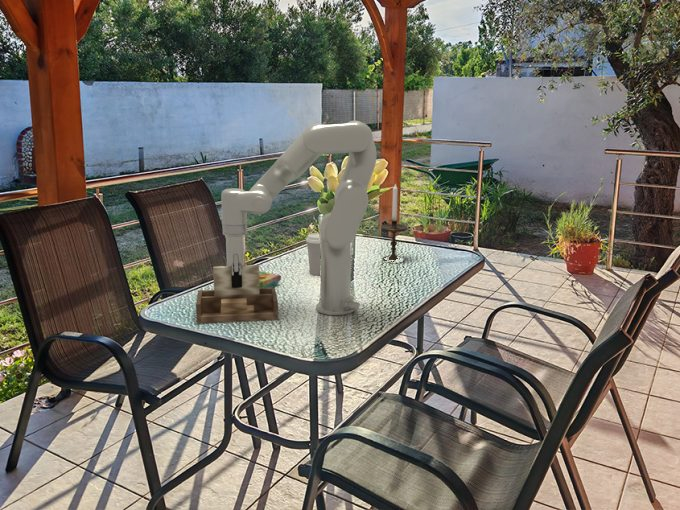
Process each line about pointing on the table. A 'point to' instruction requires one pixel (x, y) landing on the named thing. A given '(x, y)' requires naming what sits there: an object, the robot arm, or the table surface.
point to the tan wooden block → (236, 306)
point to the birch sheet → (225, 284)
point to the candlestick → (393, 225)
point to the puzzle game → (268, 279)
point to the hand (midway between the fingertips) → (236, 286)
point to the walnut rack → (211, 313)
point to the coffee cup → (314, 253)
